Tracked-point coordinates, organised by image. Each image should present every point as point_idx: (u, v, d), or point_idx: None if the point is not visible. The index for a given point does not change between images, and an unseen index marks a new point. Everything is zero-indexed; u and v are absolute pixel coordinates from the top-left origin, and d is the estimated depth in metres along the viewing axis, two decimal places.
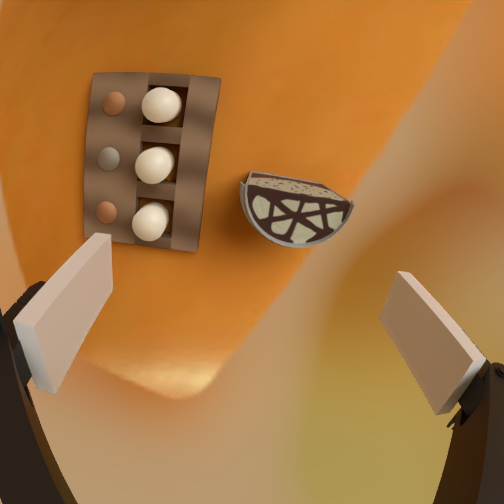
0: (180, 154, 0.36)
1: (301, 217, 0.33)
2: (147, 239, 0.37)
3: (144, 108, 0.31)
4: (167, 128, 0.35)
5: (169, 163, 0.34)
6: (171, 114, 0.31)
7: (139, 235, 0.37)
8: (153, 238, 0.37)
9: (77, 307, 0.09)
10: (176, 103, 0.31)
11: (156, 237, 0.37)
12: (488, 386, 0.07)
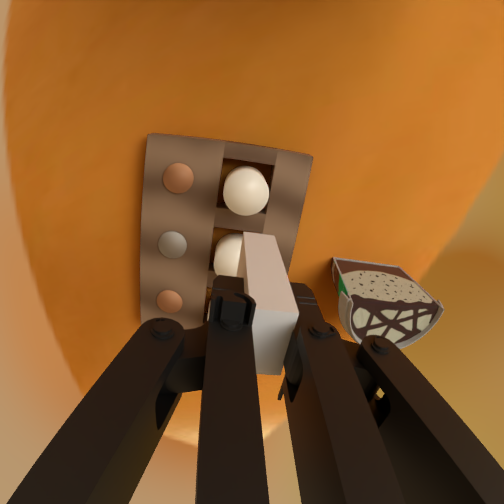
0: None
1: (395, 323, 0.30)
2: None
3: (226, 196, 0.28)
4: None
5: None
6: (261, 206, 0.28)
7: None
8: None
9: None
10: (268, 193, 0.28)
11: None
12: (305, 355, 0.08)
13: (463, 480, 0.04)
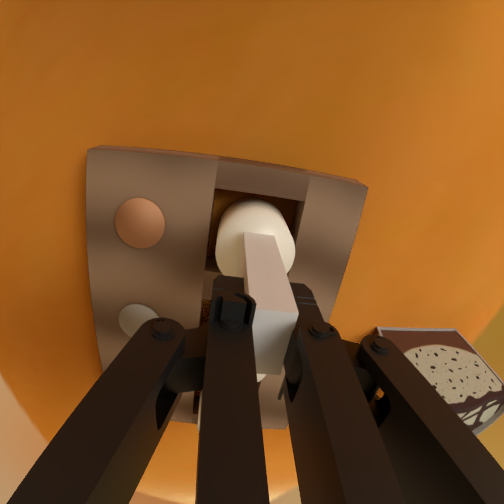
0: None
1: None
2: None
3: (221, 258, 0.16)
4: None
5: None
6: None
7: None
8: None
9: None
10: (293, 252, 0.16)
11: None
12: (305, 355, 0.08)
13: (463, 480, 0.04)
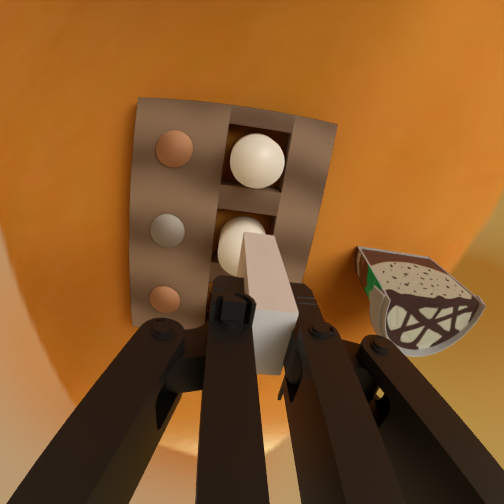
0: (276, 229, 0.27)
1: (433, 323, 0.24)
2: None
3: (234, 165, 0.23)
4: (259, 192, 0.26)
5: None
6: (275, 177, 0.23)
7: None
8: None
9: None
10: (283, 162, 0.23)
11: None
12: (305, 355, 0.08)
13: (462, 480, 0.04)
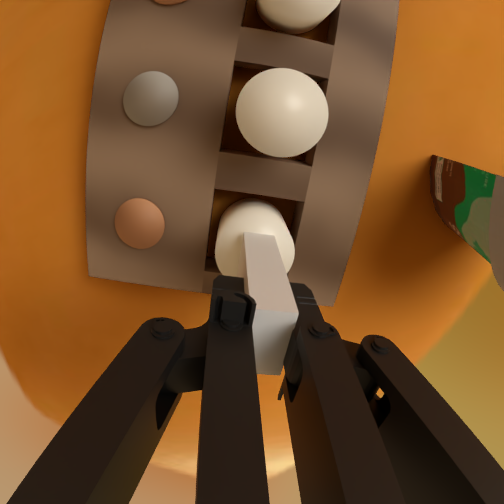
0: (327, 100, 0.15)
1: None
2: None
3: None
4: (300, 40, 0.14)
5: None
6: (330, 7, 0.11)
7: (230, 275, 0.16)
8: None
9: None
10: None
11: None
12: (305, 355, 0.08)
13: (463, 480, 0.04)
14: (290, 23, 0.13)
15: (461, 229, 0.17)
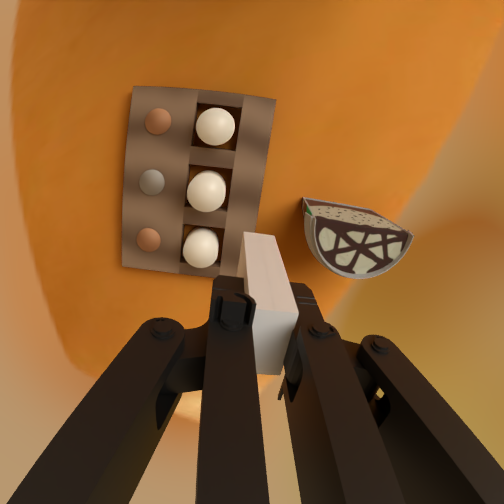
0: (233, 179, 0.35)
1: (364, 248, 0.31)
2: (199, 265, 0.37)
3: (199, 129, 0.31)
4: (219, 151, 0.34)
5: (225, 190, 0.33)
6: (228, 137, 0.32)
7: (190, 261, 0.37)
8: (205, 265, 0.37)
9: None
10: (234, 125, 0.31)
11: (209, 264, 0.37)
12: (305, 356, 0.08)
13: (463, 480, 0.04)
14: None
15: None
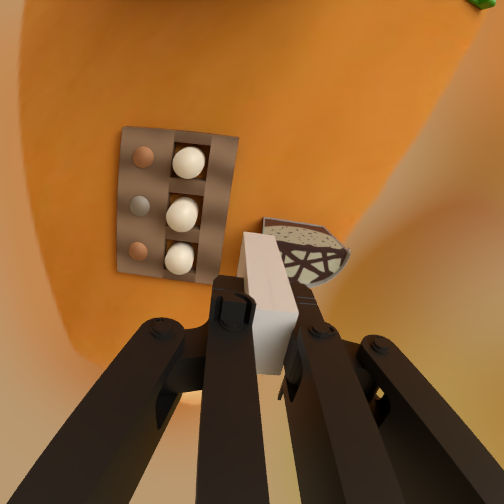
0: (204, 204, 0.44)
1: (306, 263, 0.40)
2: (178, 273, 0.45)
3: (175, 166, 0.39)
4: (192, 181, 0.42)
5: (196, 215, 0.41)
6: (198, 172, 0.40)
7: (170, 269, 0.45)
8: (183, 272, 0.45)
9: None
10: (202, 162, 0.39)
11: (185, 271, 0.45)
12: (305, 355, 0.08)
13: (463, 480, 0.04)
14: None
15: None
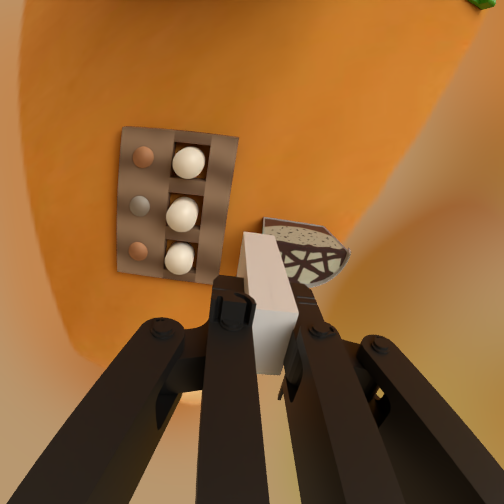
0: (204, 204, 0.44)
1: (306, 263, 0.40)
2: (178, 273, 0.45)
3: (175, 166, 0.39)
4: (192, 181, 0.42)
5: (196, 215, 0.41)
6: (198, 172, 0.40)
7: (170, 269, 0.45)
8: (183, 272, 0.45)
9: None
10: (202, 162, 0.39)
11: (185, 271, 0.45)
12: (305, 355, 0.08)
13: (463, 480, 0.04)
14: None
15: None
